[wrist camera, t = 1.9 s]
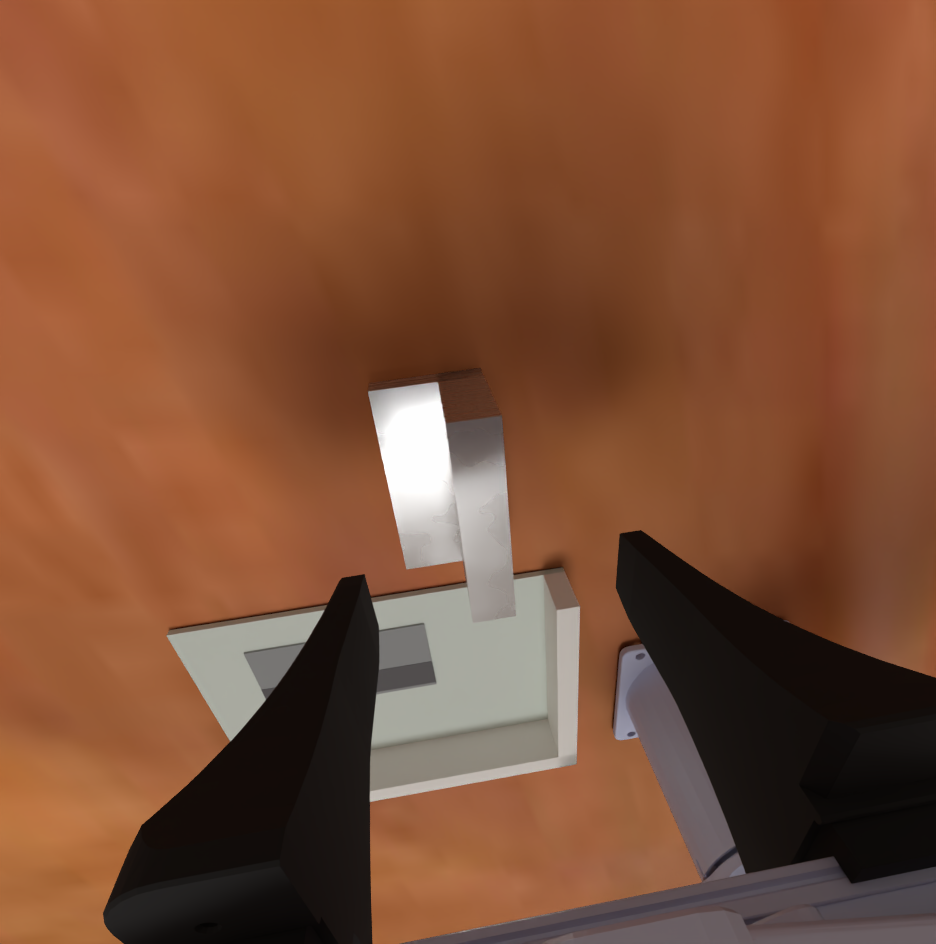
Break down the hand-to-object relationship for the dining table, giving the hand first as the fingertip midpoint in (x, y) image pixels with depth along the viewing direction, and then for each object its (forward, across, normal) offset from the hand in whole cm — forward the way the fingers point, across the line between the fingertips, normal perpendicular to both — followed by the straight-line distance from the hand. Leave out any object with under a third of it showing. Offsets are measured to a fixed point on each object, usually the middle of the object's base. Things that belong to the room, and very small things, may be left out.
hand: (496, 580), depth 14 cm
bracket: (+7, +1, 0) cm, 7 cm away
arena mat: (+7, +5, +12) cm, 15 cm away
